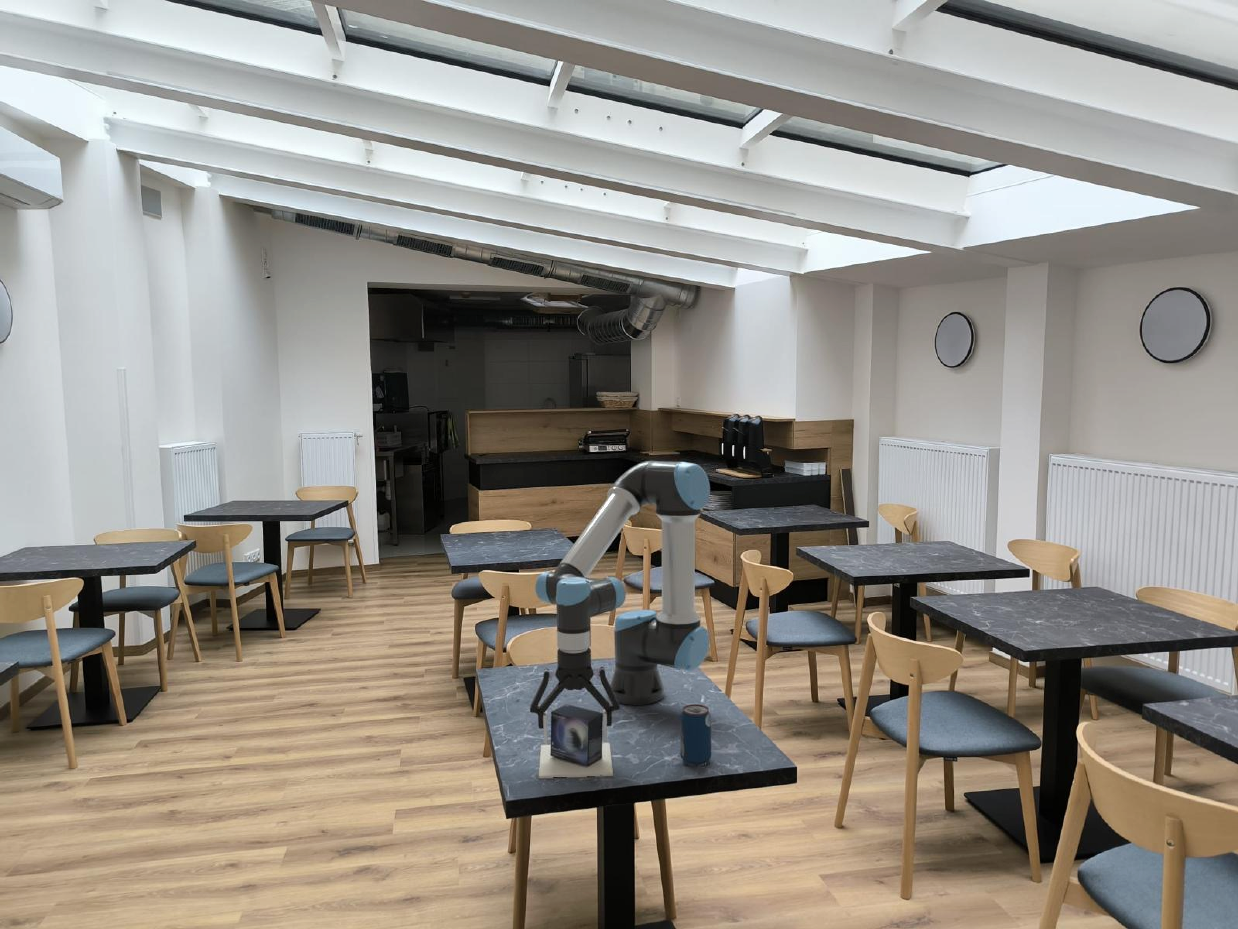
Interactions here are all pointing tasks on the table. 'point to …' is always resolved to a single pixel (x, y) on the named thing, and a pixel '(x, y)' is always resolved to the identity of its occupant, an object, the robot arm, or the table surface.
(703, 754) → the soda can
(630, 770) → the table surface
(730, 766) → the table surface
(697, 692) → the table surface
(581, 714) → the small box
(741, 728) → the table surface
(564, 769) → the mat
